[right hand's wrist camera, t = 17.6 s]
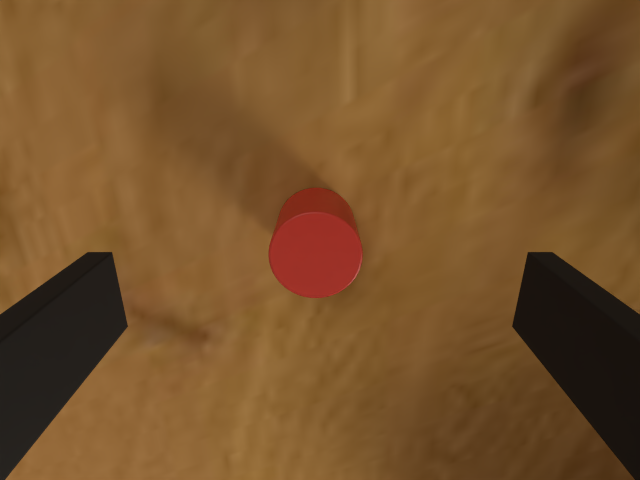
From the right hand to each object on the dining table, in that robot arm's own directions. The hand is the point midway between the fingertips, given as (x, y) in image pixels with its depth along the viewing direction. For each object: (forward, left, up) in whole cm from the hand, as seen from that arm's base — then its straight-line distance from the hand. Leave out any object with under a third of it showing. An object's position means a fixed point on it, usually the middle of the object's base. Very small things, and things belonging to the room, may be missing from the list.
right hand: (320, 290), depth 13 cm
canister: (0, 0, -8) cm, 8 cm away
